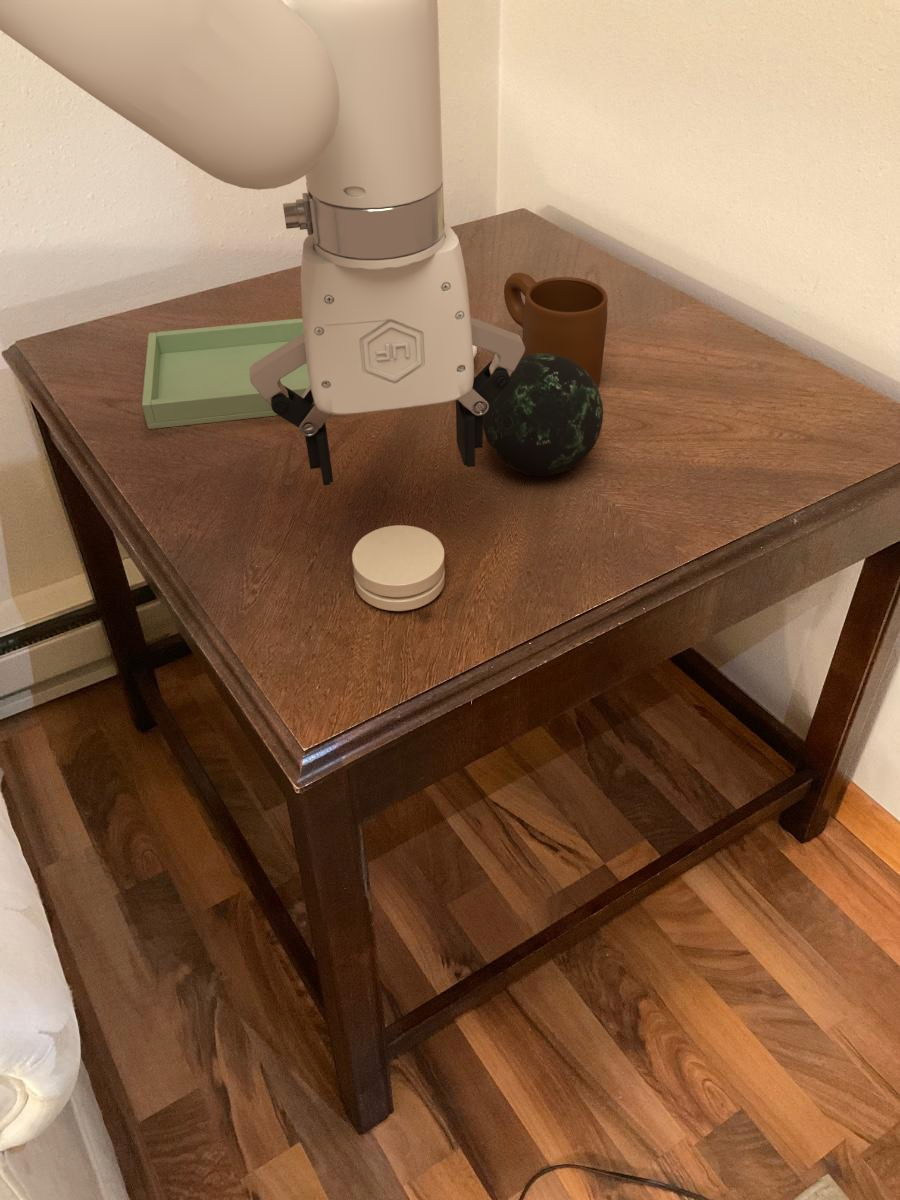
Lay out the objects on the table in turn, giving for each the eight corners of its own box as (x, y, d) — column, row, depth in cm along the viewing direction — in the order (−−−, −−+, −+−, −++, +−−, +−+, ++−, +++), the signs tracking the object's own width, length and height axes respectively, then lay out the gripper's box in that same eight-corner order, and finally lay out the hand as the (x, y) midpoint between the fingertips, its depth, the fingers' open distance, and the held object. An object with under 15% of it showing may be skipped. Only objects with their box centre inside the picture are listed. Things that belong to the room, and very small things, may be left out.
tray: (148, 429, 90) (141, 405, 89) (154, 356, 100) (148, 332, 98) (339, 409, 92) (337, 384, 91) (327, 339, 102) (324, 315, 100)
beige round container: (360, 621, 72) (357, 590, 70) (350, 560, 77) (347, 530, 75) (452, 608, 73) (451, 578, 70) (437, 550, 77) (436, 520, 75)
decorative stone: (537, 419, 91) (543, 319, 84) (621, 465, 85) (634, 362, 78) (457, 463, 86) (456, 360, 79) (541, 515, 80) (547, 409, 74)
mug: (475, 365, 98) (476, 274, 91) (533, 341, 101) (538, 252, 95) (557, 417, 91) (563, 323, 84) (616, 389, 94) (627, 297, 88)
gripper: (223, 260, 52) (272, 514, 64) (543, 227, 54) (533, 480, 66) (221, 204, 57) (267, 449, 69) (512, 177, 59) (508, 419, 71)
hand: (396, 464), depth 67 cm, fingers open, 9 cm apart
